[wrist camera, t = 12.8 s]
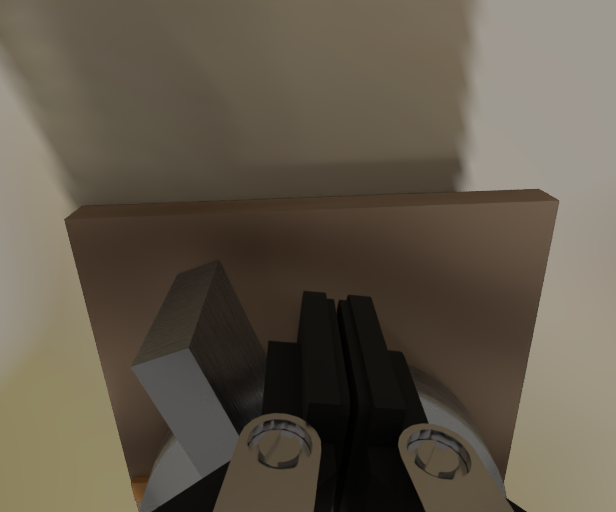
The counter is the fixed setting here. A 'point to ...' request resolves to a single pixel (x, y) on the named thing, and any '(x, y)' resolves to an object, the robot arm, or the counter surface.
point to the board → (330, 286)
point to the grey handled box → (230, 383)
